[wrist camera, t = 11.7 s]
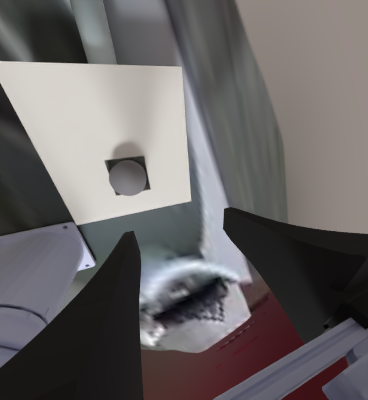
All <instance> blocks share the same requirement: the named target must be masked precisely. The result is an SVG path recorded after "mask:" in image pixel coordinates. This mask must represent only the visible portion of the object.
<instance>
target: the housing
mask: <svg viewBox="0 0 368 400" xmlns="http://www.w3.org/2000/svg"><path fill="white" fill-rule="evenodd" d="M0 83H1V85H2V87H3V89H4V91H5V93H6V94H7V96H8V98H9V100H10V102H11V104H12V106H13V108H14V109H15V111H16V113H17V115H18V117H19V119H20V121H21V122H22V124H23V126H24V128H25V130H26V132H27V134H28V135H29V137H30V139H31V141H32V143H33V145H34V147H35V149H36V150H37V152H38V154H39V156H40V158H41V160H42V162H43V163H44V165H45V167H46V169H47V171H48V173H49V175H50V176H51V178H52V180H53V182H54V184H55V186H56V188H57V190H58V191H59V193H60V195H61V197H62V199H63V201H64V203H65V204H66V206H67V208H68V210H69V212H70V214H71V216H72V217H73V219H74V221H75V223H76V225H81V224H85V223H90V222H95V221H99V220H104V219H109V218H113V217H118V216H123V215H127V214H132V213H137V212H142V211H146V210H151V209H156V208H160V207H165V206H170V205H174V204H179V203H184V202H189V201H191V193H190V178H189V164H188V150H187V135H186V121H185V106H184V92H183V77H182V67H175V66H142V65H108V64H74V63H41V62H7V61H0ZM124 159H133V160H135V161H137V162H139V163H140V164H141V165H142V166H143V168H144V170H145V174H146V186H145V188H144V189H143V190H142V191H141V192H140V193H139V194H137V195H134V196H125V195H121V194H119V193H117V192H116V191H115V190H114V189H113V188H112V186H111V185H110V182H109V173H110V171H111V169H112V168H113V167H114V166H115V165H116V164H117V163H118V162H119V161H121V160H124Z"/></svg>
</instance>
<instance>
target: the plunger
mask: <svg viewBox="0 0 368 400" xmlns="http://www.w3.org/2000/svg"><path fill="white" fill-rule="evenodd" d="M109 182H110V185H111V186H112V188H113V189H114V190H115V191H116V192H117V193H119V194H121V195H125V196H134V195H137V194H139V193H140V192H141V191H142V190H143V189H144V188H145V186H146V174H145V170H144V168H143V166H142V165H141V164H140V163H139V162H137V161H135V160H133V159H124V160H121V161H119V162H118V163H117V164H116V165H115V166H114V167H113V168H112V169H111V171H110V173H109Z"/></svg>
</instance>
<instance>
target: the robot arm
mask: <svg viewBox="0 0 368 400" xmlns="http://www.w3.org/2000/svg"><path fill="white" fill-rule="evenodd" d="M64 226H67V227H68V228H66V227H64ZM223 229H224V231H225V232H226V234H227V235H228V237H229V238H230V240H231V241H232V242H233V243H234V244H235V245H236V246H237V248H238V249H239V250H240V251H241V252H242V253H243V254H244V255H245V256H246V258H247V259H248V260H249V261H250V262H251V263H252V265H253V266H254V267H255V268H256V270H257V271H258V273H259V274H260V275H261V277H262V278H263V279H264V281H265V282H266V284H267V285H268V287H269V288H270V289H271V291H272V292H273V294H274V295H275V297H276V299H277V300H278V301H279V303H280V305H281V306H282V308H283V309H284V311H285V313H286V314H287V316H288V317H289V319H290V321H291V322H292V324H293V326H294V327H295V329H296V331H297V332H298V334H299V336H300V338H301V339H302V340H303V341H304V343H305V345H304V346H302V347H300V348H299V349H297V350H295V351H294V352H292V353H290V354H288V355H287V356H285V357H283V358H282V359H280V360H278V361H277V362H275V363H273V364H272V365H270V366H268V367H267V368H265V369H263V370H262V371H260V372H258V373H257V374H255V375H253V376H252V377H250V378H248V379H247V380H245V381H243V382H242V383H240V384H238V385H236V386H235V387H233V388H232V389H230V390H228V391H226V392H225V393H223V394H221V395H220V396H218V397H216V398H215V399H213V400H280V399H281V398H283V397H285V396H286V395H287V394H289V393H290V392H292V391H293V390H295V389H296V388H298V387H299V386H301V385H302V384H304V383H305V382H307V381H308V380H310V379H311V378H312V377H314V376H315V375H317V374H318V373H320V372H321V371H322V370H324V369H326V368H327V367H328V366H330V365H331V364H333V363H334V362H336V361H337V360H339V359H340V358H342V357H343V356H345V355H346V359H347V361H348V363H349V367H348V368H347V369H346V370H344V371H343V372H342V373H340V374H339V375H338V376H337V377H335V378H334V379H333V380H331V381H330V382H329V383H327V384H326V385H325V386H323V387H322V388H323V392H324V393H325V394H326V395H327V397H328V399H329V400H368V234H360V233H347V232H336V231H327V230H319V229H312V228H306V227H300V226H296V225H291V224H286V223H282V222H278V221H274V220H271V219H267V218H264V217H261V216H257V215H254V214H251V213H248V212H245V211H242V210H239V209H236V208H232V207H229V208H225V209H224V223H223ZM87 264H88V265H87ZM95 264H96V261H95V260H94V258H93V256H92V254H91V252H90V250H89V249H88V247H87V245H86V243H85V241H84V239H83V237H82V236H81V234H80V232H79V230H78V228H77V226H76V224H75V223H73V222H66V223H61V224H56V225H51V226H47V227H42V228H37V229H32V230H27V231H22V232H17V233H13V234H8V235H3V236H0V400H144V399H143V384H142V367H141V349H140V325H139V294H140V277H141V256H140V250H139V247H138V243H137V240H136V237H135V234H134V231H130V232H126V233H124V234H123V236H122V237H121V239H120V240H119V242H118V243H117V245H116V246H115V248H114V249H113V251H112V252H111V254H110V255H109V257H108V258H107V260H106V261H105V262H104V264H103V265H102V266H101V268H100V269H99V270H98V272H97V273H96V274H95V275H94V277H93V278H92V279H91V280H90V281H89V282H88V284H87V285H86V286H85V287H84V288H83V289H82V290H81V291H80V293H79V294H78V295H77V296H76V297H75V298H74V299H73V300H72V301H71V302H70V303H69V304H68V305H67V306H66V307H65V308H64V309H63V310H62V311H61V312H60V313H59V314H58V315H57V316H56V314H57V312H58V310H59V308H60V305H61V303H62V301H63V299H64V297H65V295H66V293H67V291H68V289H69V287H70V285H71V283H72V281H73V279H74V277H75V275H76V272H77V271H79V270H83V269H86V268H90V267H93V266H95ZM55 316H56V317H55Z"/></svg>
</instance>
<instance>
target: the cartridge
mask: <svg viewBox="0 0 368 400" xmlns="http://www.w3.org/2000/svg"><path fill="white" fill-rule="evenodd" d="M70 3H71V7H72V10H73V13H74V17H75V20H76V24H77V27H78V30H79V34H80V37H81V40H82V44H83V47H84V51H85V54H86V57H87V61H88V64H108V65H117V60H116V56H115V51H114V47H113V42H112V38H111V34H110V29H109V25H108V20H107V16H106V11H105V7H104V3H103V0H70Z"/></svg>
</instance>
